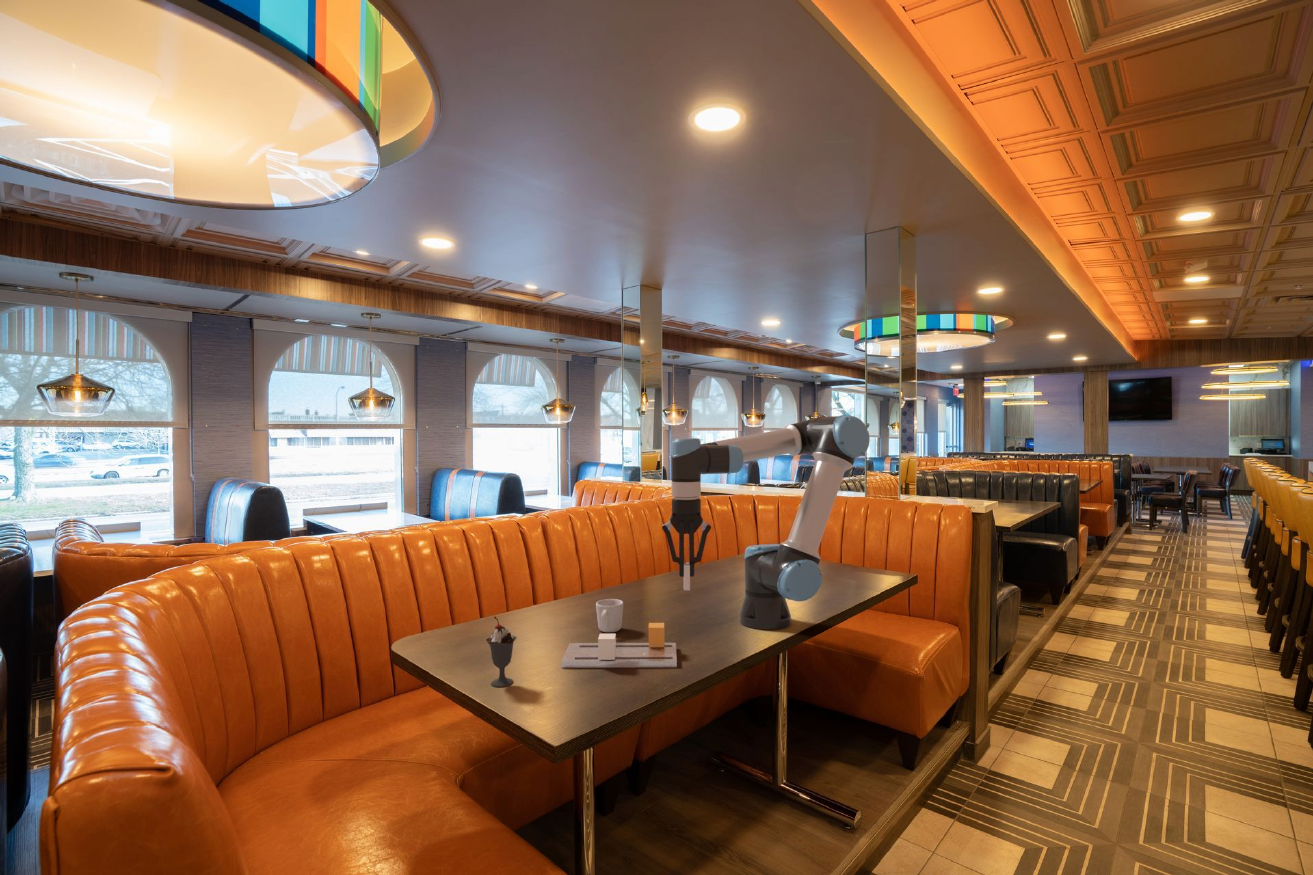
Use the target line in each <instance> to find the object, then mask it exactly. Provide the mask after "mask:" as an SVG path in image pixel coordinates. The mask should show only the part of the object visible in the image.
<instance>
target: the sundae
mask: <svg viewBox="0 0 1313 875" xmlns="http://www.w3.org/2000/svg"><path fill="white" fill-rule="evenodd" d="M493 619H495V620H496V621H497V625H495V627H494V631H492V634H491V636H490V637H487V638H486V639H485V640H486V643H487V644H488V645H489V647H490V653H491V661H492V664H493V665H494V666H495V667H496V668H498V670H499V674H498V675H499V676H498V678H497V679H494V680H492V681H491V683H490V685H491V686H492V687H493V688H506V687H508V686H511V685H512V684H514V680H513V679H512V678H510V677H506V673H505V669H506V668H507V666H509V664H510V663H511V661H512V657H513V650H514V649H513V648H514V642H515V641H516V640H517V636H515V635H512V633H511V632H509V629H508V628H507V627H506V626H503V625H502V624H500V623H499V619H498V618H497V616H495V615H494V616H493Z"/></svg>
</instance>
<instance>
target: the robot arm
mask: <svg viewBox="0 0 1313 875" xmlns="http://www.w3.org/2000/svg"><path fill="white" fill-rule="evenodd" d="M869 446H870V433H869V431H868V429H867V426H866V424H865V423H864V421H863V420H861V419H860V418H859V417H856V416H854V415H844V414H843V415H835V416H816V417H813V418H810V419H805V420H804V421H799V422H796V423H795V422H794V423H791V424H787V425H785V426H784V428H781V429H777V430H776V429H775V430H770V431H765V432H759V433H754V434H749V435H742V436H739V437H737V436H736V437H733V438H726V439H722V440H717V441H712V442H707V443H706V442H705V443H702V444H701V440H700V438H674V439H673V440H672V442H671V454H670V459H671V460H670V461H671V497H672V499H671V516H670V518H669V521H668V522H666V523H663V524H662V525H661V529H662V531H663V533H664V534H665V536H666V540H667V544H668V548H669V551H670V552H669V553H670V556H671V560H672V562H673V563H677V564H678V567H679V568H678V570H679V573H678V574H679V577H681V578H683V591H691V577H695V565H696V563H701V561H702V558H703V554H704V549H705V546H706V541H707V536H708V534H709V532H710V531H711V530H712V526H711V524H710V523H707V522H705V521H704V519H703V517H702V504H701V503H702V501H701V498H700V497H701V496H702V495H701V494H702V493H701V490H702V489H701V488H702V486H701V485H702V483H701V482H702V481H701V480H702V479H701V477H702V475H711V474H712V475H718V474H719V475H721V474H723V475H725V474H727V475H730V474H737V473H739V472H741V470H742V469H743V465H744V463H747V462H754V461H758V460H763V459H767V458H772V457H778V456H783V455H788V454H789V455H790V456H792V457H793V456H794V457H795V456H799V455H800V456H801V455H811V456H812V457H813V459H814V464H813V467H812V471H811V473H810V476H809V479H808V481H807V484H806V487H805V490H804V493H803V495H802V498H801V501H800V504H799V507H798V510H797V513H796V515H795V518H794V521H793V524H792V527H791V530H790V532H789V535H788V538H787V539H786V540H785V541H783V542H780V543H777V544H776V543H774V544H771V543H770V544H769V543H767V544H766V543H765V544H756V545H755V544H754V545H749V546H747V547H746V548H745V550H744V558H743V560H744V585H745V586H744V588H745V590H744V591H745V592H744V598H743V601H742V604H741V608H740V610H739V623H740V624H741V625H743V626H745V627H747V628H752V629H758V630H779V629H785V628H787V627H790V626H791V624H792V617H791V612H790V609H789V606H788V603H787V600H788V601H794V602H798V603H799V602H805V601H808V600H809V599H811V598H813V597H815V595H817V593H818V592H819V591H820V588H821V587H822V584H823V574H822V569H821V567H820V566H819V565H820V563H821V555H820V554H819V552H818V551H819V547H820V544H821V541H822V539H823V536H824V533H825V530H826V527H827V525H828V521H829V519H830V516H831V513H832V509H833V507H834V504H835V501H836V498H837V495H838V492H839V489H840V487H841V484H842V482H843V478H844V475H845V472H846V471H848V470H851V469H853V466H854V463H855V460H856V458H859V457H862V456H863V455H864V454H865V453H867V450H868V449H869ZM700 527H701V536H700V539H699V542H698V543H699V544H698V547H697V552H696V556H695V534H696V532H697V530H699V529H700ZM672 528H674V530H675V531H676V532H677V533H678V556H677V553H676V549H675V545H674V542H673V537H672V532H671V531H672ZM685 535H688V562H685Z"/></svg>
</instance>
